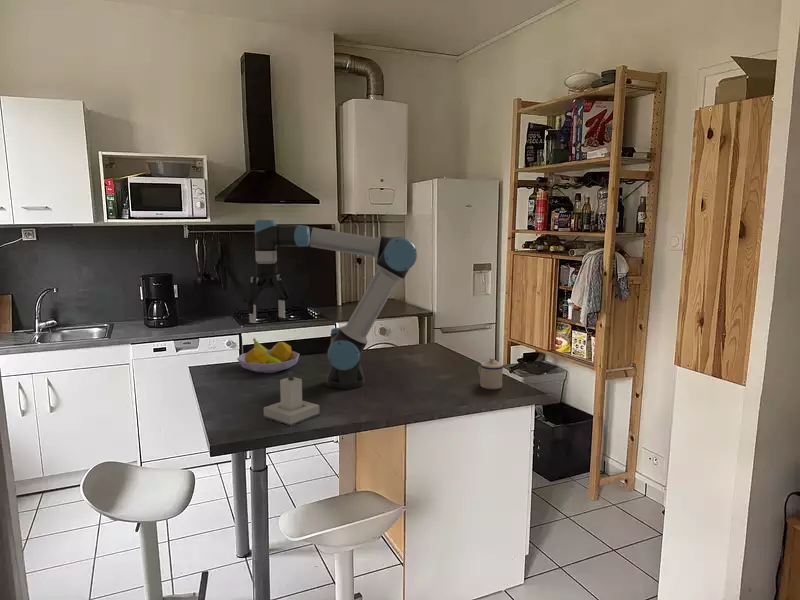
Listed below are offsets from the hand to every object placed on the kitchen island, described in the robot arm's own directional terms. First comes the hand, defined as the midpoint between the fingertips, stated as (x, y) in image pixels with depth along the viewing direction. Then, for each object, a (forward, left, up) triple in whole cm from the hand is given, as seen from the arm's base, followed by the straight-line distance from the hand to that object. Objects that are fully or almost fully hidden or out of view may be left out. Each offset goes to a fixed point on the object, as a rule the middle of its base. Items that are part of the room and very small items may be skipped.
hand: (267, 319), depth 202 cm
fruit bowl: (0, -38, -29) cm, 48 cm away
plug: (-7, +25, -28) cm, 38 cm away
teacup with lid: (-86, +6, -29) cm, 91 cm away
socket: (-6, +23, -29) cm, 38 cm away
